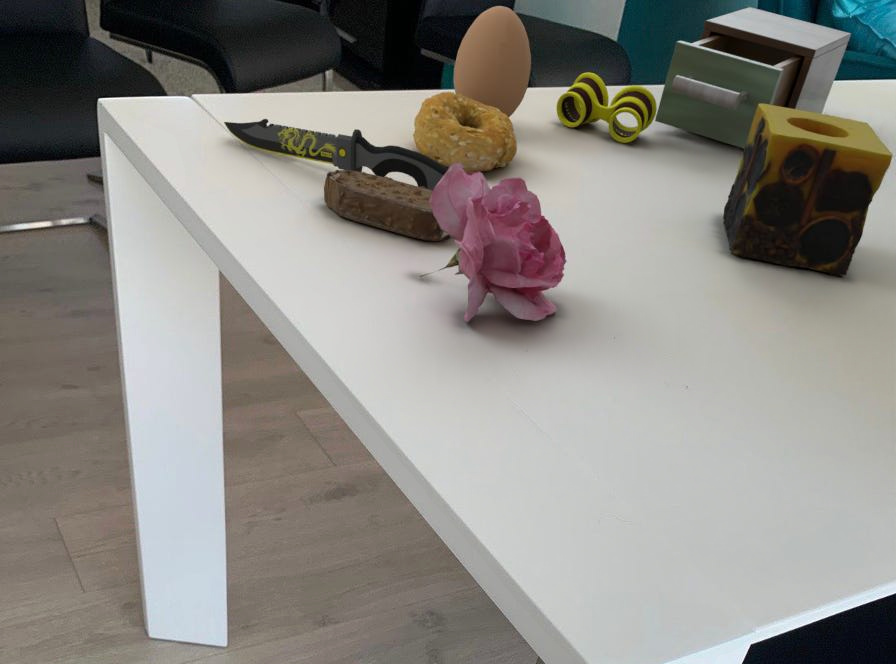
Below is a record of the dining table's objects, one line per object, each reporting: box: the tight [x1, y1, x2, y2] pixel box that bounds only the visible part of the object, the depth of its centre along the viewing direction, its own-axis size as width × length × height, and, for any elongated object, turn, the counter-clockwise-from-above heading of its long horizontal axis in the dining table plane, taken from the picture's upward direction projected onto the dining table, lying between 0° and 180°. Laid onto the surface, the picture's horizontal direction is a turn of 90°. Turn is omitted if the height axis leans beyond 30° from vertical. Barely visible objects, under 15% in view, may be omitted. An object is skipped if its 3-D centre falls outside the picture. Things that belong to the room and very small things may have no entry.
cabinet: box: [699, 6, 852, 114], centre depth 121 cm, size 16×13×10 cm
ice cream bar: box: [323, 169, 451, 242], centre depth 82 cm, size 5×15×3 cm, turn 70°
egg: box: [453, 5, 532, 119], centre depth 103 cm, size 8×8×11 cm
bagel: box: [412, 91, 518, 173], centre depth 96 cm, size 10×11×5 cm
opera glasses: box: [556, 71, 658, 144], centre depth 109 cm, size 10×5×5 cm, turn 62°
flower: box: [419, 163, 568, 324], centre depth 72 cm, size 11×10×10 cm
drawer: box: [654, 34, 805, 150], centre depth 112 cm, size 19×12×8 cm, turn 148°
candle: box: [722, 104, 894, 277], centre depth 88 cm, size 10×10×10 cm
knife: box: [223, 118, 449, 191], centre depth 88 cm, size 23×2×5 cm, turn 62°
